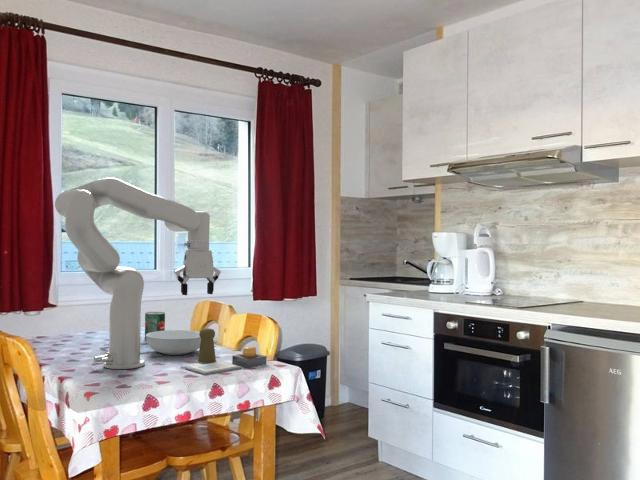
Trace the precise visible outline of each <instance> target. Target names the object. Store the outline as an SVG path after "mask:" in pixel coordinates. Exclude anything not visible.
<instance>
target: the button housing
mask: <svg viewBox="0 0 640 480" xmlns="http://www.w3.org/2000/svg"><path fill="white" fill-rule="evenodd" d="M231 364H234V365H237V366H241V367H242V368H246V369H249V368H254V367H253V366H255V367H259V366H258V365H260V366H264V365H267V356H266V355H264V354H263V355H262V354H258V353H256V357H252V358H246V357H243V353H242V354H241V353H240V354H235V355H232V362H231ZM248 367H249V368H248Z"/></svg>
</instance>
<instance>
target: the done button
mask: <svg viewBox="0 0 640 480" xmlns="http://www.w3.org/2000/svg"><path fill="white" fill-rule="evenodd" d="M242 354H243V357H246V358H252V357H256V354H257V347H256V346H244V347H242Z"/></svg>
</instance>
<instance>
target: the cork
mask: <svg viewBox="0 0 640 480" xmlns="http://www.w3.org/2000/svg"><path fill="white" fill-rule="evenodd" d="M199 332H200V333H199V335H200V338H201V342H200V348H199V349H198V350H199V351H198V358H197V362H198V363H200V364H209V363H215V362H217V360H216V359H217V358H216V351H215V350H216V349H215V340H214V338H215V336H216V331H215V330H214V329H213V328H207V327H206V328H201V329H200V331H199Z"/></svg>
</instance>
